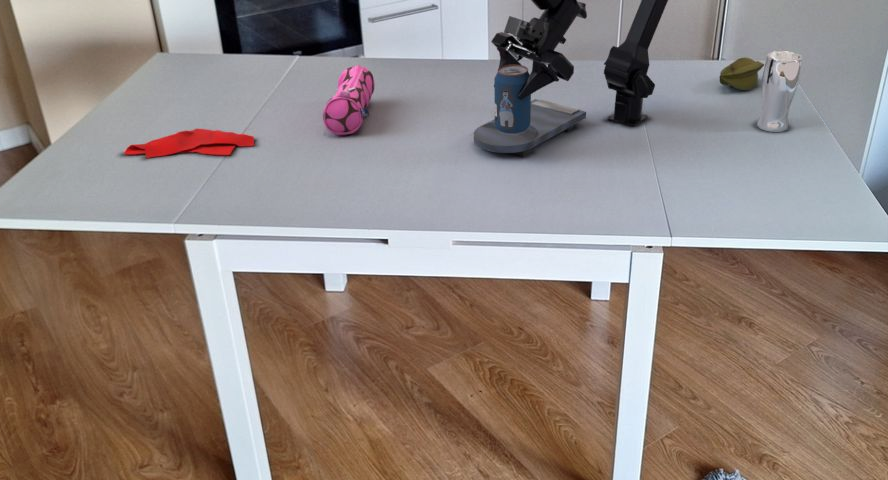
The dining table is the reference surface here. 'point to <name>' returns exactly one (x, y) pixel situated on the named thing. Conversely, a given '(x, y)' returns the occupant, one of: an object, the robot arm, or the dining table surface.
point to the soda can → (511, 100)
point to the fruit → (741, 74)
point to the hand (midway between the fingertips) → (507, 93)
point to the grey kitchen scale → (530, 129)
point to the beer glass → (778, 89)
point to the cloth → (193, 143)
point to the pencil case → (349, 101)
